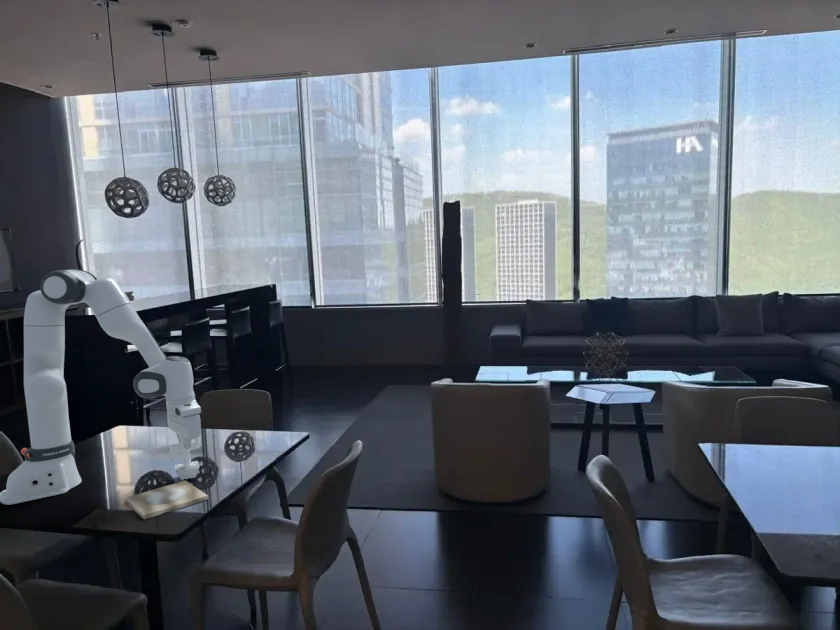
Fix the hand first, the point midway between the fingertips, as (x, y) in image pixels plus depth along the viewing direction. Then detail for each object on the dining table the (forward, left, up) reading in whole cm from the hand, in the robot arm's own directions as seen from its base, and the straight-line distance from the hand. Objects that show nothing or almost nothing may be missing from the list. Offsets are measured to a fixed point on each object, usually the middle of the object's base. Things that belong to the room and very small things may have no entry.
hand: (185, 446), depth 194 cm
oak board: (-12, -15, -10) cm, 22 cm away
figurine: (0, 0, -10) cm, 10 cm away
